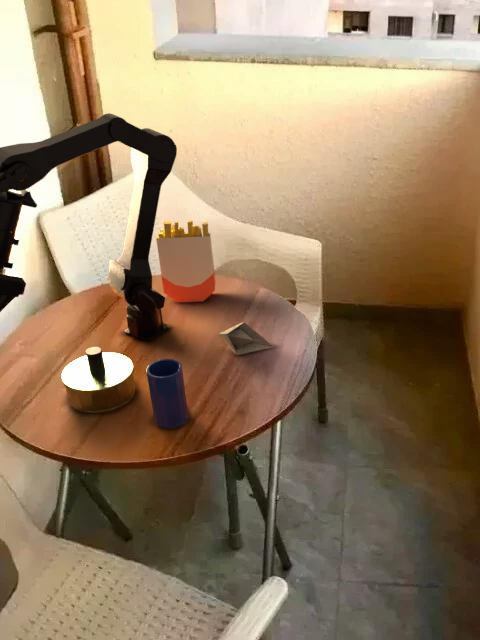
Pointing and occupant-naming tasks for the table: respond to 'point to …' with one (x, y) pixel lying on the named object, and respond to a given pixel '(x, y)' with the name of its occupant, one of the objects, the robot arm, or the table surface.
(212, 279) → the french fries container
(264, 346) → the paper boat
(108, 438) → the table surface
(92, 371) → the lid
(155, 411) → the cup
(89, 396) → the pot
